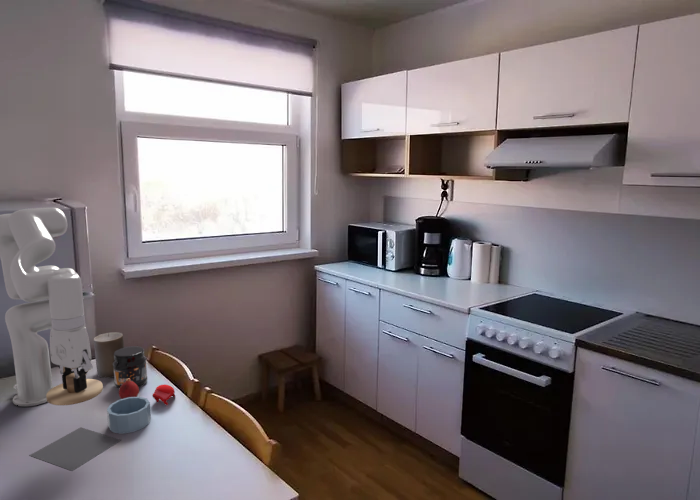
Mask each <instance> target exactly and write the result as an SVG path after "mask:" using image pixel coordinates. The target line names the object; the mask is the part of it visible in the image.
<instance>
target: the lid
mask: <svg viewBox="0 0 700 500" xmlns="http://www.w3.org/2000/svg"><path fill="white" fill-rule="evenodd" d="M73 378H75V375H74V373H71V374H69V375H67V376H66V384H67V389H63V382H62V383H59V384H57V385H54V388H52V389H51V390H49V391H48V393H47V395H46V398H47V402H46V403H49V404H51V405H54V406H72V405H77V404H80V403H85V402H87V401H89V400H92V399H94V398H96V397H98V396H99V395H100V394H101V393H102V392H103V390H104V386H103V382H102V381H101V380H98V379H93V378H86V382H87V388H86V389H84V390H82V391H80V392H78V393H76V392H75V391H74V381H73Z"/></svg>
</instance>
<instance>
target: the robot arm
mask: <svg viewBox="0 0 700 500" xmlns="http://www.w3.org/2000/svg"><path fill="white" fill-rule="evenodd" d="M67 230H68V220H67V216H66V215H65V213H64V211H62V210H61V209H60V208H57V207H37V208H36V207H35V208H34V207H33V208H24V209H18V210H15V211H13V212H12V213H3V214H0V263H1V268H2V274H3V281H4V285H5V291H6V293H7V295H8V297H9V298H10V299H11V300H22V301H24V303H20V304H16V305H13V306H11V307H10V308H8V309H7V310H6V312H5V315H4V321H5V324H6V328H7V331H8V334H9V337H10V341H11V348H12V356H13V364H14V371H15V380H16V383H15V384H14V385H13V389H15V390H16V391H17V392H16V395H14V396H13V398H12V403H13V405H15V406H17V405H18V406H17V407H33V406H37V405H42V404H46V403H48V402H47V398H46V395H47V393H48V391H49V390H51V389H52V388H54V387H55V385H53V377H52V368H51V363H52V364H53V365H56V366H57V368H58V369H59V373H60V375H61V381H62V383H63V389H67V384H66V376H67V375H69V374H71V373H74V375H75V378H73V381H74V391H75V392H76V393H78V392H80V391H82V390H84V389H86V388H87V382H86V379H87V375H88V372H89V371H90V370H92V369H93V368H94V365H93V363H92V351H91V349H92V348H91V344H90V343H91V342H90V338H89V334H88V330H87V327H86V326H87V325H86V324H87V323H86V315H85V304H84V294H83V293H84V292H83V285H82V278H81V276H80V275H79V274H78V272H76V271H75V270H74V268H70V267H63V268H60V267H58V266H56V265H53V264H52V265H50V264H49V265H43V266H36V265H38V264H40V263H42V262H43V261H46V260H48V259H49V258H50V257H51V256H52V255H54V253H55V251H56V242H55V240H54V239H53V238H55V237H56V238H57V237H60V236H63V235H64V234H66V232H67ZM47 330H50V333H49V344H48V341H47V340H46V339H45V338H44V337H43V336H41V335H40V334H38V333H40V332H42V331H47ZM79 368H80V369H79Z"/></svg>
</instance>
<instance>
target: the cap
mask: <svg viewBox="0 0 700 500" xmlns="http://www.w3.org/2000/svg"><path fill="white" fill-rule="evenodd" d="M175 393H176V391H175V389H174V387H173V386H171V385H169V384H160V385H157V387H155V390H154V392H153V393H152V395H151V396H152V398H153V399H154V400H155V402H156V403H160V402H162V403H163V404H164V405H165V406H168V405H169V403H168V400H169V399H171V398H176V396H177V395H175Z"/></svg>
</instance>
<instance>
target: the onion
mask: <svg viewBox="0 0 700 500" xmlns="http://www.w3.org/2000/svg"><path fill="white" fill-rule="evenodd" d="M130 380H131V379H130V378H128V379H127V380H126V382H124V383H123V384H122V385H121V387H120V389H119V388H118V396H119V398H120V399H124V398H128V397H138V395H139V392H140V389H139V388H140V387H138V386H137V384H136V383H134V382H132V381H130Z"/></svg>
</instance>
